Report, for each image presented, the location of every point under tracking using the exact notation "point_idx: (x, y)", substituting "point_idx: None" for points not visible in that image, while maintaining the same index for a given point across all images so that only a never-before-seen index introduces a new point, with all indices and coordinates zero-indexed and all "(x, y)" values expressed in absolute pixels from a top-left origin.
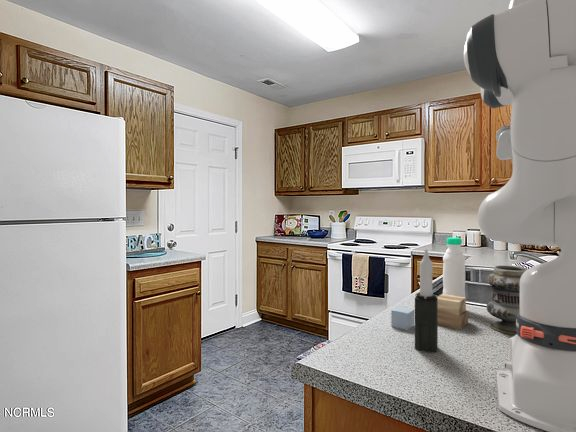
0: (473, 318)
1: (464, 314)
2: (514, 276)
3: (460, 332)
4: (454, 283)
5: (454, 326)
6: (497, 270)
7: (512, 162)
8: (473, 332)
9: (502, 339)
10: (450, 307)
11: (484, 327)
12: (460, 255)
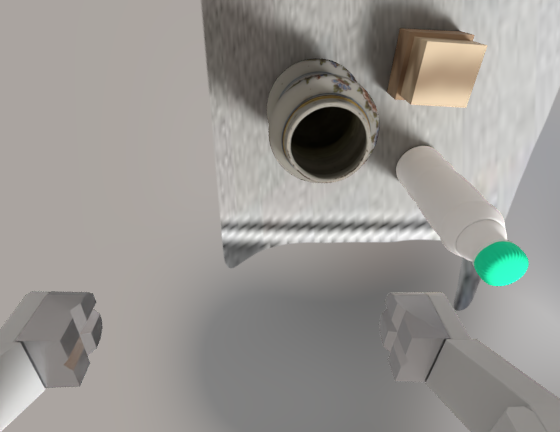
0: None
1: (402, 64)
2: (316, 97)
3: (400, 2)
4: (443, 174)
5: (414, 29)
6: (361, 113)
7: (551, 403)
8: (374, 22)
9: (318, 12)
10: (440, 40)
11: (354, 76)
12: (462, 226)
